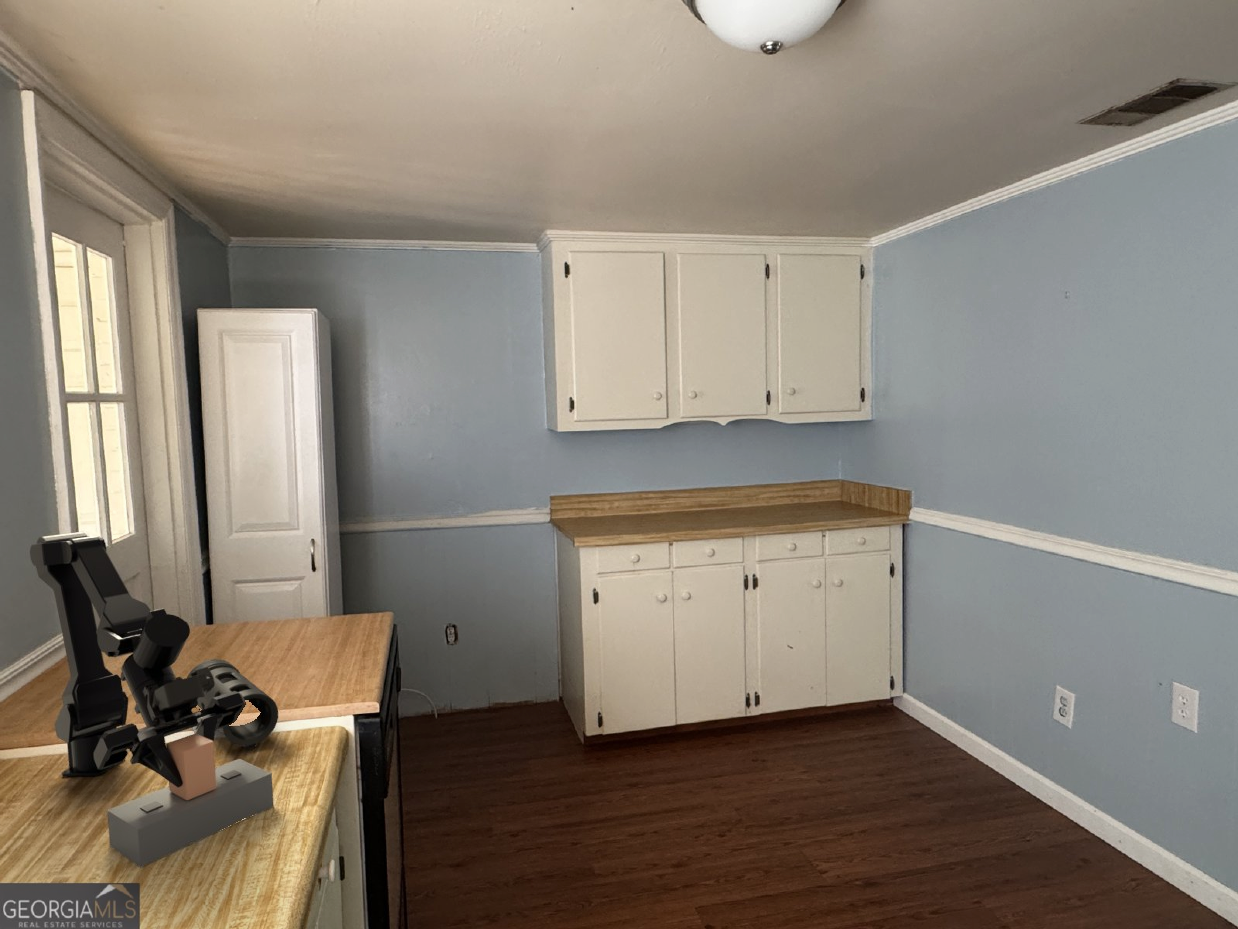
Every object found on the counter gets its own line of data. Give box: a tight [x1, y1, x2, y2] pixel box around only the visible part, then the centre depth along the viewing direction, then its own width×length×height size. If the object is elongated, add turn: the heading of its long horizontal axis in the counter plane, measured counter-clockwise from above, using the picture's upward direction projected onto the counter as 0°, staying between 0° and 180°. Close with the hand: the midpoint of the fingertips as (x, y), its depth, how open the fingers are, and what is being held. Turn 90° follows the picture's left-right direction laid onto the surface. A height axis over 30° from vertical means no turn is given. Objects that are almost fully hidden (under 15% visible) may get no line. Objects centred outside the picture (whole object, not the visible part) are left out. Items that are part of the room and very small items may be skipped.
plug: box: [165, 733, 216, 800], centre depth 107 cm, size 5×4×11 cm
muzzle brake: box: [186, 658, 279, 751], centre depth 142 cm, size 10×28×10 cm, turn 42°
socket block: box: [107, 758, 274, 869], centre depth 107 cm, size 9×18×5 cm, turn 145°
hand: (197, 779), depth 106 cm, fingers closed on plug, 4 cm apart
